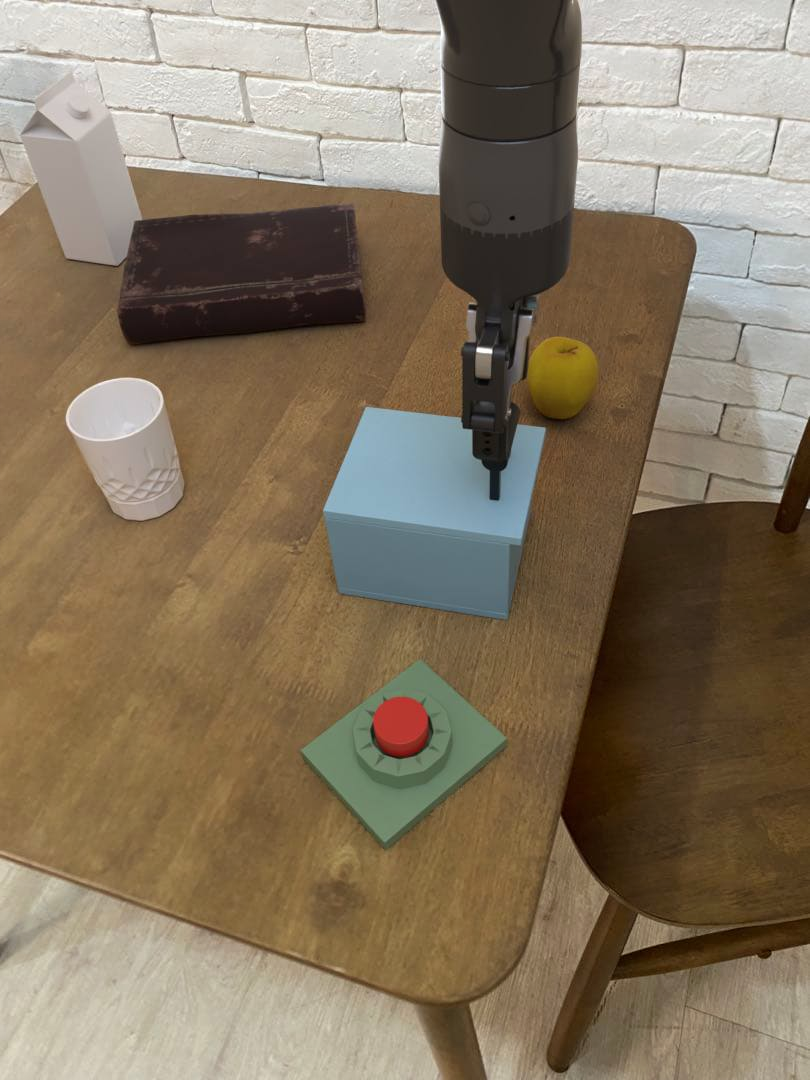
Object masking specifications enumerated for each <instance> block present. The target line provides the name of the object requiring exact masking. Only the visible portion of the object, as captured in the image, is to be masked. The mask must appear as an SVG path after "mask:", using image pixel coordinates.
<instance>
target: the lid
mask: <svg viewBox="0 0 810 1080" xmlns="http://www.w3.org/2000/svg"><path fill="white" fill-rule="evenodd" d="M510 409H512V412H511V417H509V423H508V451H507V455H506V459H505V460H504V461H502V462H494V461H486V460H479V459H476V458H475V457H474V456H473V454H472V430H469V429H463V427H462V423H461V417H457V416H448V415H439V414H430V413H424V412H423V413H422V412H415V411H404V410H398V409H397V410H396V409H389V408H379V407H372V406H365V408H364V411H363V413H362V415H361V418H360V420H359V423H358V425H357V428H356V430H355V432H354V434H353V437H352V439H351V442H350V444H349V447H348V449H347V451H346V454H345V456H344V459H343V461H342V463H341V466H340V468H339V470H338V473H337V475H336V478H335V480H334V483H333V485H332V488H331V490H330V493H329V495H328V497H327V499H326V502H325V504H324V507H323V510H322V514H323V518H324V519H325V518H330V519H337V520H344V521H351V522H358V523H365V524H372V525H379V526H386V527H393V528H400V529H407V530H414V531H421V532H428V533H435V534H442V535H449V536H456V537H463V538H470V539H477V540H484V541H491V542H498V543H505V544H512V545H519V546H521V545H522V540H523V535H524V531H525V526H526V522H527V517H528V513H529V508H530V504H531V505H532V502H531V499H533V494H534V489H535V485H536V480H537V476H538V471H539V467H540V462H541V458H542V454H543V449H544V444H545V440H546V435H547V427H545V426H544V427H543V426H535V425H534V426H533V425H527V424H519V419H520V416H521V409H520V407H519V405H518V404H517V403H515V402H514V401H511V406H510Z"/></svg>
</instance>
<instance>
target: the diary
mask: <svg viewBox="0 0 810 1080" xmlns="http://www.w3.org/2000/svg"><path fill="white" fill-rule="evenodd" d="M357 227H358V226H357V217H356V207H355V203H354V202H344V203H336V204H335V203H334V204H325V205H317V206H307V207H296V208H286V209H275V210H267V211H257V212H256V211H255V212H246V213H245V212H244V213H243V212H242V213H241V212H240V213H206V214H205V213H201V214H186V215H177V216H167V217H166V216H165V217H157V218H148V219H142V220H138V221H134V225H133V230H132V234H131V239H130V243H129V248H128V253H127V257H126V258H125V262H124V269H123V274H122V280H121V286H120V292H119V297H118V298H119V299H118V304H117V308H116V313H117V318H118V323H119V327H120V330H121V332H122V335H123V338H124V339H125V341H126V343H127V344H128V345H139V344H147V343H153V342H160V341H161V342H162V341H169V340H177V339H183V338H185V339H186V338H193V337H205V336H217V335H218V336H220V335H231V334H232V335H233V334H246V333H255V332H263V331H270V330H278V329H287V328H295V327H300V326H310V325H324V324H327V325H328V324H340V323H341V324H342V323H356V322H366V321H367V315H366V314H367V313H366V305H365V293H364V283H363V274H362V265H361V264H362V263H361V253H360V245H359V235H358V228H357Z"/></svg>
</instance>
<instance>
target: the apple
mask: <svg viewBox="0 0 810 1080" xmlns="http://www.w3.org/2000/svg"><path fill="white" fill-rule="evenodd" d="M599 374H600V369H599V364H598V359H597V357H596V355H595V352H593V350H592V349H591V347H589V346H588V345H587V344H586V343H583V342H582V341H580V340H577V339H574V338H570V337H565V336H557V335H556V336H552V337H549V338H547V339H545V340H543V341H542V342H541V343H539V344H538V345H537V347H535V349H534V350H533V352H532V354H531V355H530V356H529V363H528V373H527V377H526V383H527V388H528V391H529V393H530V396H531V398H532V401H533V403H534V405H535V407H536V408H537V410H538V411H539V412H540V413H541V414H542V415H543V416H544V417H546V418H550V419H555V420H567V419H570V418H573V417H574V416H576V415H578V413H580V412H581V410H582V409H583V408H584V407H585V405H586V404H587V402H588V401H589V400H590V398H592V396H593V394H594V392H595V390H596V389H597V387H598V383H599V382H598V381H599V376H600V375H599Z"/></svg>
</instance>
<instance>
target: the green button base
mask: <svg viewBox="0 0 810 1080" xmlns="http://www.w3.org/2000/svg"><path fill="white" fill-rule="evenodd" d="M394 697H409V698H412V699H414V700H416V701H418V702H419V703H420V704H421V705H422V706H423V707H424V708H425V710H426V713H427V716H428V727H429V736H428V740H427V742H426V744H425V746H424V747H423V748H422V749H421V750H420V751H419V752H417V753H415V754H413V755H411V756H407V757H395V756H392V755H389V754H387V753H386V752H384V751H383V750H382V749H381V748H380V747H379V745H378V743H377V741H376V737H375V731H374V725H373V718H374V714H375V712H376V710H377V709H378V707H379V706H380V705H381V704H382V703H384V702H385V701H387V700H389V699H391V698H394ZM507 746H508V738H507V736H506V735H505V734H504V733H502V732H501V731H500V730H499V729H498V728H497V727H496V726H494V724H493V723H491V721H489V720H488V719H487V718H486V717H485V716H484V715H483V714H481V712H479V710H477V709H476V708H475V707H474V706H473V705H472V704H471V703H469V702H468V701H467V699H465V698H464V697H463V696H462V695H461V694H459V693H458V692H457V691H456V690H455V689H454V688H453V687H452V686H451V685H450V684H449V683H447V682H446V680H444V679H443V678H442V677H441V676H440V675H438V674H437V673H436V672H435V671H434V670H433V669H432V668H431V667H430V666H429V665H428V664H427V663H425V661H423V660H422V659H421V658H419V659H417V660H416V661H415V662H413V663H412V664H411V665H409V666H408V667H407V668H405V669H404V670H403V671H401V672H400V673H399V674H398V675H397V676H395V677H394V678H393V679H391V680H390V681H388V682H387V683H386V684H385V685H382V687H381V688H379V689H378V690H377V691H376V692H374V693H373V694H371V695H370V696H369V697H368V698H366V699H365V700H363V702H361V703H360V704H359V705H357V706H356V707H354V708H353V709H352V710H350V711H349V712H348V713H347V714H346V715H344V716H342V718H340V719H339V720H337V721H336V722H335V723H334V724H332V725H331V726H330V727H328V728H327V729H326V730H324V731H323V732H322V733H321V734H319V735H318V736H316V737H315V738H314V739H313V740H311V741H310V742H309V743H308V744H307V745H304V747H302V748H301V749H300V753H301V757H302V759H303V761H305V763H306V764H307V765H308V766H309V767H310V768H311V769H312V771H313V772H314V773H315V774H316V775H317V776H318V777H319V778H320V780H322V781H323V783H324V784H325V785H326V787H328V788H329V789H330V791H331V792H332V793H333V794H334V795H335V796H336V797H337V798H338V799H339V801H341V802H342V804H343V805H344V806H345V807H346V808H347V809H348V811H349V812H351V814H352V815H353V816H354V817H355V818H356V819H357V820H358V822H359V823H360V824H361V825H362V826H363V827H364V828H365V829H366V830H367V831H368V832H369V834H371V836H372V837H373V838H374V839H375V841H377V842H378V843H379V845H380V846H381V847H382V848H383V850H385V851H387V850H388V849H389V848H390V847H392V846H393V845H394V844H395V843H396V842H398V840H400V839H401V838H402V837H403V836H404V835H406V834H407V833H408V832H409V831H410V830H411V829H412V828H414V827H415V826H416V825H417V824H419V823H420V822H421V821H422V820H423V819H424V818H425V817H427V816H428V815H429V814H430V813H431V812H432V811H433V810H435V809H436V808H437V807H438V806H440V805H441V804H442V803H443V802H444V801H445V800H446V799H448V798H449V797H450V796H451V795H452V794H453V793H454V792H455V791H457V790H458V789H459V788H460V787H461V786H462V785H464V784H465V783H466V782H467V781H468V780H469V779H471V778H472V777H473V776H474V775H475V774H476V773H478V772H479V771H480V770H482V769H483V768H484V767H485V766H486V765H487V764H488V763H489V762H490V761H492V760H493V759H494V758H495V757H497V755H499V754H500V753H501V752H502V751H503V750H505V749H506V748H507Z"/></svg>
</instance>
